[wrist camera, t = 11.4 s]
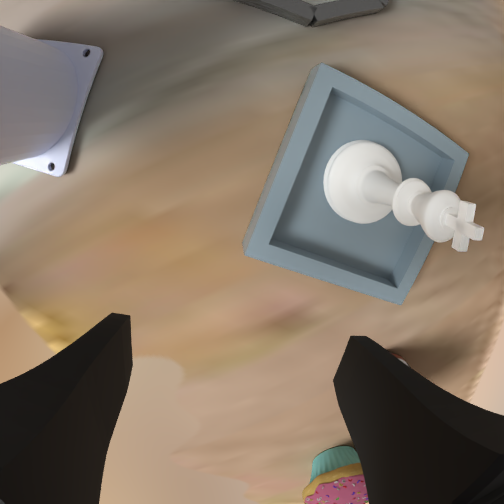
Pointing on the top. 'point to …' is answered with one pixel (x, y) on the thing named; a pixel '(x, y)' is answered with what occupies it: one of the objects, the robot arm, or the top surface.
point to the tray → (314, 200)
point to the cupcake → (336, 478)
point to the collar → (318, 9)
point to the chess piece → (394, 195)
